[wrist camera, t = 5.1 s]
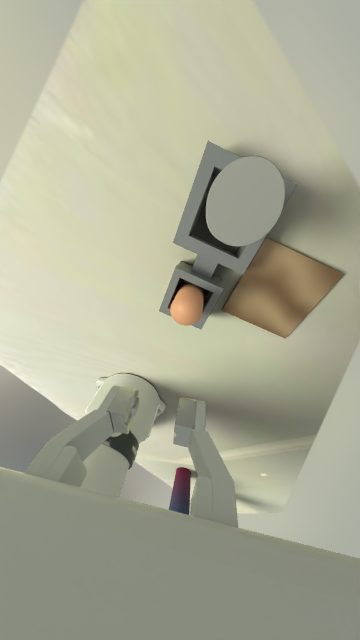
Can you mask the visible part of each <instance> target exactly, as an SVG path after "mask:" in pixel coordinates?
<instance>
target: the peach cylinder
mask: <svg viewBox="0 0 360 640" xmlns="http://www.w3.org/2000/svg"><path fill="white" fill-rule="evenodd" d="M204 292H205V290H204V288H202V287H200V286H197V285H195V284H193V283H191V282H188V281H185V282H183V284H182V285H181V287H180V289H179V291H178V293H177V295H176V297H175V299H174V300H173V302H172V304H171V307H170V312H171V316H172V317H173V319H174V320H175V321H176V322H177V323H179V324H182V325H193V324H195V323H197V322H198V321H199V320H200V318H201V316H202V311H203V301H204Z"/></svg>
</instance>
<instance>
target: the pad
mask: <svg viewBox="0 0 360 640" xmlns="http://www.w3.org/2000/svg"><path fill="white" fill-rule="evenodd" d="M343 275H344V274H342V273H340V272H338V271H336V270H334V269H332V268H330V267H327V266H325V265H323V264H321V263H319V262H317V261H315V260H313V259H310V258H308V257H306V256H304V255H302V254H300V253H298V252H296V251H294V250H291V249H289V248H287V247H285V246H283V245H281V244H279V243H277V242H274V241H272V240H270V239H268V238H266V237H265V239H264V241H263V242H262V244H261V246H260V247H259V249H258V251H257V252H256V254H255V256H254V257H253V259H252V261H251V262H250V264H249V266H248V267H247V269H246V271H245V272H244V274H243V275H242V277H241V278H240V280H239V282H238V283H237V285H236V287H235V288H234V290H233V292H232V293H231V295H230V297H229V298H228V300H227V302H226V303H225V305H224V307H223V308H222V311H224V312H227V313H229V314H231V315H233V316H236V317H238V318H240V319H242V320H245V321H247V322H249V323H252V324H254V325H256V326H258V327H261V328H263V329H265V330H267V331H270V332H272V333H274V334H276V335H279V336H281V337H283V338H286V337H287V336H288V335H289V334H290V333H291V332H292V331H293V330H294V328H295V327H296V326H297V325H298V324H299V323H300V322H301V321H302V320H303V319H304V317H305V316H306V315H307V314H308V313H309V312H310V311H311V310H312V309H313V308H314V307H315V305H316V304H317V303H318V302H319V301H320V300H321V299H322V298H323V297H324V296H325V295H326V293H327V292H328V291H329V290H330V289H331V288H332V287H333V286H334V285H335V284H336V283H337V281H338V280H339V279H340V278H341V277H342V276H343Z"/></svg>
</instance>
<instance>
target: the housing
mask: <svg viewBox="0 0 360 640" xmlns="http://www.w3.org/2000/svg"><path fill="white" fill-rule="evenodd" d="M240 158H242V157H240V156H238V155H236V154H234V153H232V152H230V151H228V150H225V149H223V148H221V147H219V146H217V145H215V144H213V143H211V142H209V141H208V142H207V145H206V148H205V151H204V154H203V157H202V160H201V163H200V166H199V169H198V171H197V174H196V177H195V180H194V183H193V186H192V189H191V192H190V195H189V198H188V201H187V204H186V206H185V209H184V212H183V215H182V218H181V221H180V224H179V227H178V230H177V233H176V236H175V238H174V241H173V243H175V244H177V245H179V246H181V247H183V248H186V249H188V250H190V251H192V252H194V253H197V254H198V255H197V258H196V260H195V262H194V265H193V266H191V265H189V264H187V263H184V262H182V261H181V262H180V263H179V264H178V265H177V266H176V267H175V270H174V273H173V275H172V278H171V280H170V283H169V286H168V288H167V291H166V294H165V296H164V299H163V302H162V304H161V307H160V310H159V311H160V312H162V313H165V314H167V315H169V316H171V312H170V307H171V304H172V302H173V300H174V299H175V297H174V295H175V292H176V290H177V287H178V285H179V282H180V280H181V278H182V279H184V280H186V281H188V282H191V283H193V284H195V285H197V286H200V287H202V288H204V289H206V290H209V291H208V293H207V295H206V297H205V299H204V301H203V311H202V316H201V318H200V320H199V321H198V322H197V323H195V324H193V325H192V326H195V327H197V328H199V329H202V327H203V325H204V323H205V322H206V320H207V318H208V316H209V315H210V313H211V311H212V309H213V307H214V306H215V304H216V302H217V300H218V299H219V297H220V295H221V293H222V291H223V290H224V288H223V283H222V279H220V278H217V277H215V276H213V275H212V274H213V273H214V271H215V269H216V267H217V265H218V264H221V265H223V266H225V267H227V268H229V269H232V270H234V271H236V272H238V273H240V274H242V275H243V274H244V272H245V271H246V269H247V267H248V266H249V264H250V262H251V261H252V259H253V257H254V256H255V254H256V252H257V251H258V249H259V247H260V246H261V244H262V242H263V241H264V239H265V237H266V236H267V234H268V233H267V234H266V235H265V236H264V237H263V238H261V239H260V240H258V241H257V242H255V243H252V244H250V245H246V246H239V248H238V250H237V252H236V254H232V253H230V252H228V251H226V250H224V249H222V248H219V247H217V246H215V245H213V244H211V243H209V242H206V241H204V240H202V239H200V238H198V237H196V236H193V235H192V232H193V230H194V227H195V224H196V222H197V219H198V217H199V214H200V211H201V209H202V206H203V204H204V201H205V199H206V196H207V193H208V191H209V188H210V186H211V183H212V180H213V178H214V177H217V176H218V175H219V173H220V172H221V171H222V170H223V169H224V168H225V167H226V166H228V165H229V164H230V163H232V162H233V161H235V160H237V159H240ZM283 180H284V185H285V201H284V205H285V204H286V202H287V200H288V199H289V197H290V195H291V194H292V192H293V190H294V189H295V187H296V185H297V184H295V183H293V182H291V181H288V180H286V179H284V178H283ZM283 207H284V206H283Z"/></svg>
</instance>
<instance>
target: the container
mask: <svg viewBox="0 0 360 640" xmlns="http://www.w3.org/2000/svg"><path fill="white" fill-rule="evenodd" d="M284 201H285V185H284V180H283V177H282V175H281V173H280V171H279V169H278V168H277V167H276V166H275V165H274V164H273V163H272V162H271V161H269V160H268V159H265V158H263V157H259V156H247V157H243V158H240V159H237V160H235V161H233V162H232V163H230V164H229V165H228V166H226V167H225V168H224V169H223V170H222V171H221V172H220V173H219V175H218V176H217V177H216V179H215V180H214V182H213V184H212V186H211V188H210V191H209V193H208V197H207V202H206V221H207V225H208V228H209V230H210V232H211V233H212V235H213V236H214V237H215V238H216V239H218V240H220V241H221V242H223V243H225V244H227V245H231V246H246V245H250V244H252V243H255V242H257V241H258V240H260V239H261V238H263V237H264V236H265V235H266V234H267V233H269V231H270V230H271V229H272V228H273V227H274V225H275V224H276V222H277V221H278V219H279V217H280V215H281V212H282V209H283V206H284Z"/></svg>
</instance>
